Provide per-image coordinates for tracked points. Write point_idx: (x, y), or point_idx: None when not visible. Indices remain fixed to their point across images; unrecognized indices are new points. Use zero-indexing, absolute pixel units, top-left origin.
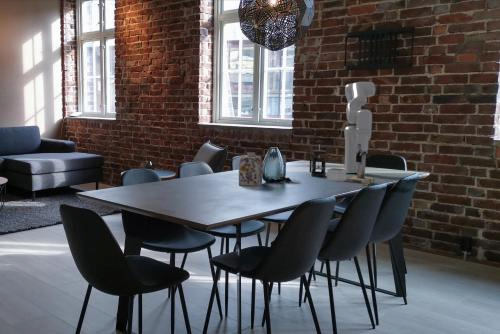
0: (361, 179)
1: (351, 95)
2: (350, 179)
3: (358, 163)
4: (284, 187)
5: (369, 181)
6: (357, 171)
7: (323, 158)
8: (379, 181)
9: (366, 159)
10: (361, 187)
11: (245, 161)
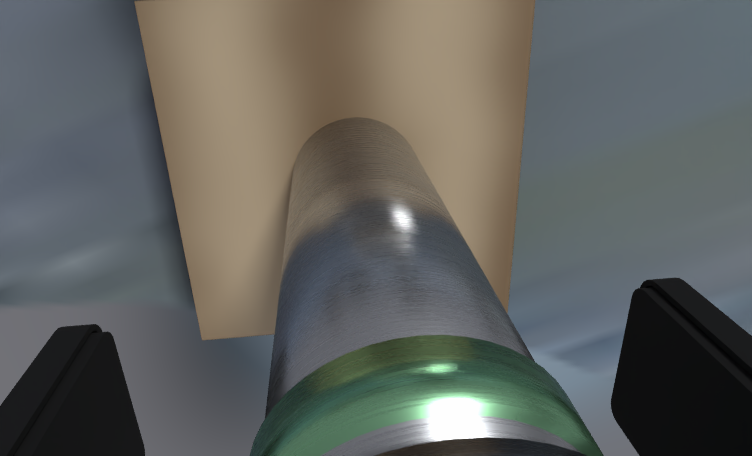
0: (213, 247)
1: None
2: (151, 66)
3: (287, 284)
4: None
5: None
6: (316, 170)
7: None
8: (657, 275)
9: (631, 435)
10: (4, 306)
11: None
